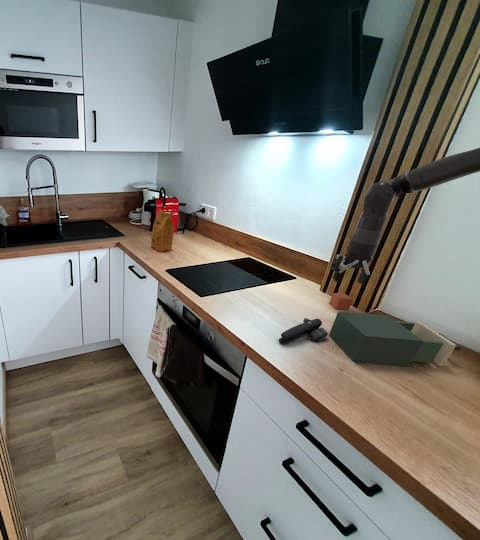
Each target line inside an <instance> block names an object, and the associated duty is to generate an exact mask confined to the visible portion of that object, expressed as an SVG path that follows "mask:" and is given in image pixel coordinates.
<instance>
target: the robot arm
mask: <svg viewBox="0 0 480 540" xmlns="http://www.w3.org/2000/svg"><path fill="white" fill-rule="evenodd" d="M476 173H480V147H477V148H474V149H469V150H466V151H462V152H458V153H454V154H451V155H448V156H444V157H442V158H441V157H440V158H439V159H436V160H433V161H431V162H428V163H425V164H423V165H421V166H418V167H415V168H413V169H411V170H409V171H408V172H406V173H403V174H401V175H398V176H395V177H393V178H390V179H387V180H381V181H377V182H376V183H374V184H372V185H371V186H370V187H369V188H368V190H367V191H366V194H365V195H364V196H365V198H364V201H363V205H362V212H361V214H360V217H359V219H358V221H357V224H356V227H355V229H354V230H353V233H352V235H351V238H350V241H349V243H348V246H347V248H346V253H345V254H340V253H336V254H335V255H334V258H333V261H332V262H331V265H330V269H331V270H333V272H334V273H333V275H332V279H333V281H334V282H335V283H339V282H340V280H341V277H342V276H343V273H344V272H345V271H347V270H349V269H350V268H351V269H360V271H361V272H360V274H359V276H358V277H357V278H358V279H357V283H358V284H360V285H364V283H365V282H367V279H368V276H370V275H371V274H370V271H369V265H368V264H370V261H371V259H372V258H371V257H373V256H375V255H374V254H375V252H376V249H377V247H378V245H379V242H380V240H381V238H382V234H383V230H384V228H385V225H386V224H387V220H388V217H389V214H388V211H389V209H390V206H391V204H392V202H393V201H395V200H394V199H396V198H397V197H399V196H401V195H404V194H405V193H412V192H414V193H417V192H422V191H425V190H429V189H431V188H434V187H437V186H441V185H443V184H446V183H449V182H451V181H455V180H458V179H460V178H465V177H468V176H470V175H473V174H476ZM412 194H413V193H412ZM396 200H397V199H396Z"/></svg>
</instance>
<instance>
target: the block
mask: <svg viewBox="0 0 480 540" xmlns="http://www.w3.org/2000/svg"><path fill="white" fill-rule="evenodd" d="M353 301H354V299H353V298H352V297H350V296H349V295H348V294H346V293H341V292H332V294H331V297H330V299H329V303H328V304H329V305H331V306H332V307H333V308H334V309H335V310H341V311H349V310H350V308H351V305H352V303H353Z"/></svg>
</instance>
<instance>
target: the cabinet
mask: <svg viewBox="0 0 480 540" xmlns="http://www.w3.org/2000/svg"><path fill="white" fill-rule="evenodd" d="M396 321H397V320H395V319H394V318H392V317H391V316H389V315H388V314H387V315H386V314H374V313H361V312H349V311H347V312H346V311H337V312H336V315H335V318H334V320H333V323H332V326H331V328H330V330H329V333H328V336H329V338H330V339H331V340H332V341H333V342H334V343H335V344H336V345H337V346H338V347H339V349H341V351H342V352H343V353H344V354H345V355H346V356H347V357H348V358H349V359H350V361H352V362H353V363H360V364H368V365H369V364H370V365H380V366H392V367H405V368H410V366H411V364H412V362H413V361H412V360H413V359H414V357H415V355H416V353H417V351H418V350H419V348H420V346H421V344H422V342H423V340H422V339H420V338H419V337H417V336H416V335H415V334H413V333H412V332H410V331H409V330H408V329H406V328H405V327H403V326H402V325H401V324H399V323H398V322H396Z"/></svg>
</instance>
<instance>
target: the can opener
mask: <svg viewBox="0 0 480 540" xmlns="http://www.w3.org/2000/svg"><path fill="white" fill-rule="evenodd" d="M322 325H323V321H322V320H321V319H320V318H314V319H309V318H307V317H305V318H303V320H302V323H299V324H297V325H295V326H292V327H290V328H288V329H287V330H285V331H283V332H282V333H280V338H279V339H278V343H279V344H281V345H286V344H290V343H293V342H295V341H296V340H299V339H300V338H303V337H305V336H307V338H309V339H310V340H311V341H313V342H319V341H322V340H323V339H325V338H327V336H329V332H328V331H327V330H326V329H325V328H323V327H321V326H322Z"/></svg>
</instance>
